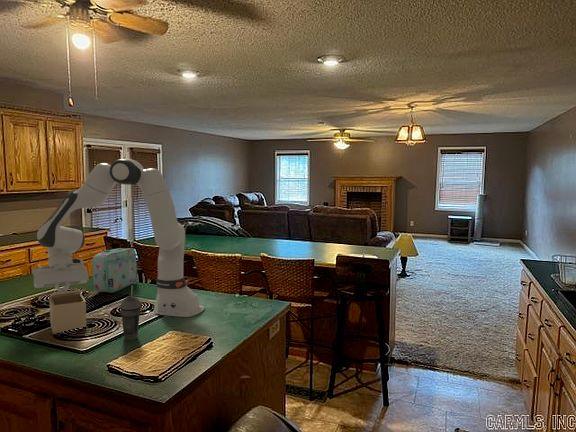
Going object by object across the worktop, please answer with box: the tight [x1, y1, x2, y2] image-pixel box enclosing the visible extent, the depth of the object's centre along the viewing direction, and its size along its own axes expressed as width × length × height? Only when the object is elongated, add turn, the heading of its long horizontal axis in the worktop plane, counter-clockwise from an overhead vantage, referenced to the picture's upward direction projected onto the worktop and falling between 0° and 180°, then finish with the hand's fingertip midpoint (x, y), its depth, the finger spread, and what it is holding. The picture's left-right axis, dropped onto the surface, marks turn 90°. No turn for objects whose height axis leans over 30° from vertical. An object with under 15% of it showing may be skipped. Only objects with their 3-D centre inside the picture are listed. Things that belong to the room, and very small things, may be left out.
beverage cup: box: [119, 284, 142, 341], centre depth 146 cm, size 7×7×20 cm
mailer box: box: [49, 292, 87, 336], centre depth 155 cm, size 12×11×11 cm
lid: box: [49, 289, 86, 298], centre depth 158 cm, size 22×10×1 cm, turn 35°
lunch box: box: [91, 247, 138, 294], centre depth 208 cm, size 27×10×21 cm, turn 168°
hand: (63, 293), depth 166 cm, fingers closed, pressing on lid
